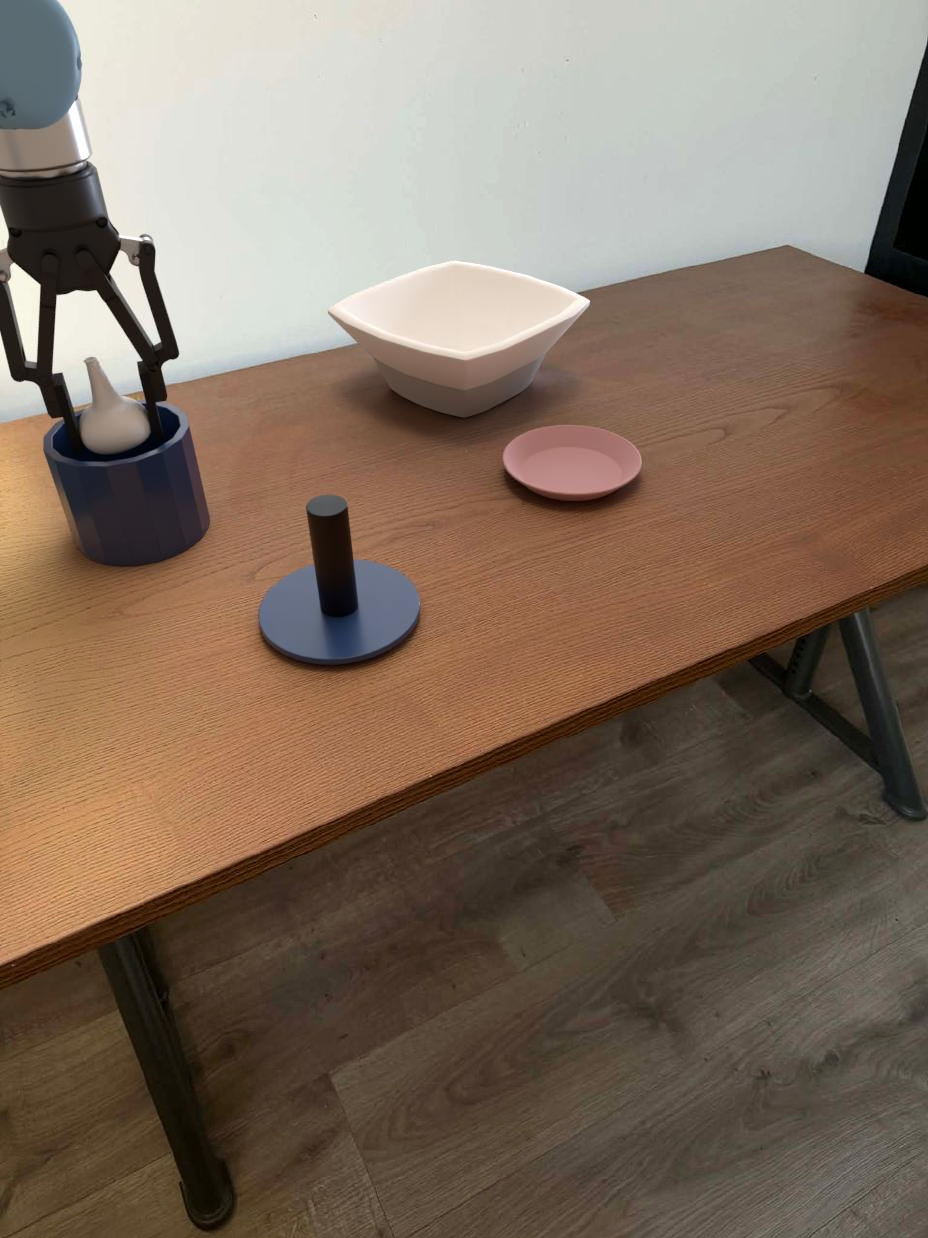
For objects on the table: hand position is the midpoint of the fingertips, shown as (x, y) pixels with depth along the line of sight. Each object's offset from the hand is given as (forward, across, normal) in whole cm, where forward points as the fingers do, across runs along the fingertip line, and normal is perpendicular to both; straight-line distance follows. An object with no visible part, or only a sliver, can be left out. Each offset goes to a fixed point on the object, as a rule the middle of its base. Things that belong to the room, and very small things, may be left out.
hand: (119, 439), depth 85 cm
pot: (+10, 0, 0) cm, 10 cm away
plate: (+10, -43, +5) cm, 44 cm away
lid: (+9, -15, +20) cm, 27 cm away
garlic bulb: (0, 0, 0) cm, 0 cm away
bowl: (+10, -39, -19) cm, 44 cm away
